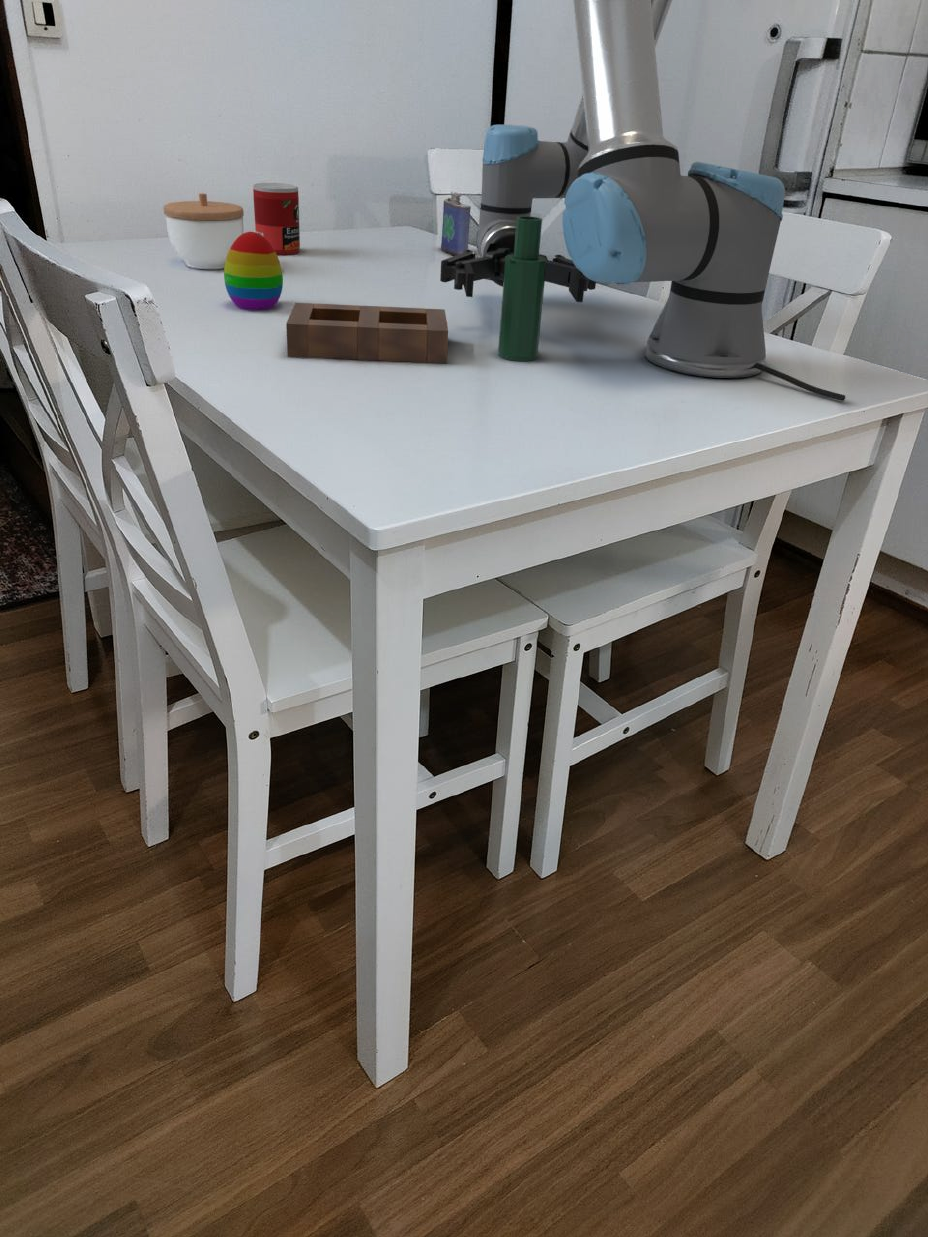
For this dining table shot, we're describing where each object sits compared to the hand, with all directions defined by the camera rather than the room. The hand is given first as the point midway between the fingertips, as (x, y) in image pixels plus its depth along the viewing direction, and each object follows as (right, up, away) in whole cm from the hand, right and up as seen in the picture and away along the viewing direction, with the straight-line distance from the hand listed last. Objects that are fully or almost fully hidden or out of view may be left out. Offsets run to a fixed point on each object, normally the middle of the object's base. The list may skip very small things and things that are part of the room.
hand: (525, 288), depth 113 cm
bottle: (-1, -6, +7) cm, 9 cm away
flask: (-10, +30, +66) cm, 73 cm away
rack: (-20, -6, +6) cm, 21 cm away
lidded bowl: (-51, +19, +44) cm, 69 cm away
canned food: (-42, +27, +58) cm, 76 cm away
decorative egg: (-38, +5, +22) cm, 44 cm away
